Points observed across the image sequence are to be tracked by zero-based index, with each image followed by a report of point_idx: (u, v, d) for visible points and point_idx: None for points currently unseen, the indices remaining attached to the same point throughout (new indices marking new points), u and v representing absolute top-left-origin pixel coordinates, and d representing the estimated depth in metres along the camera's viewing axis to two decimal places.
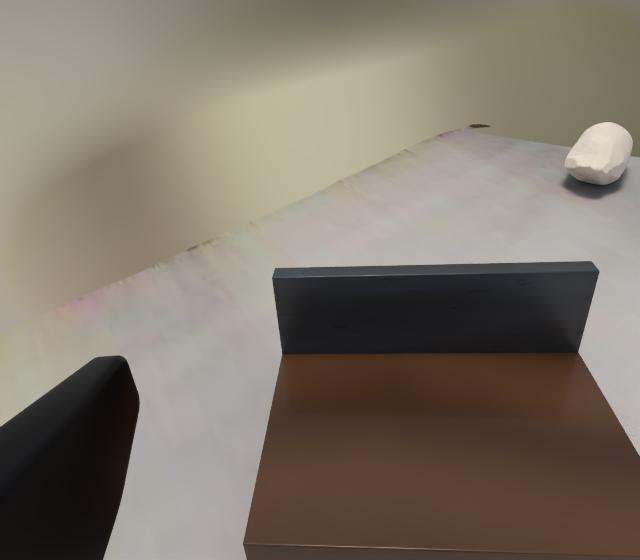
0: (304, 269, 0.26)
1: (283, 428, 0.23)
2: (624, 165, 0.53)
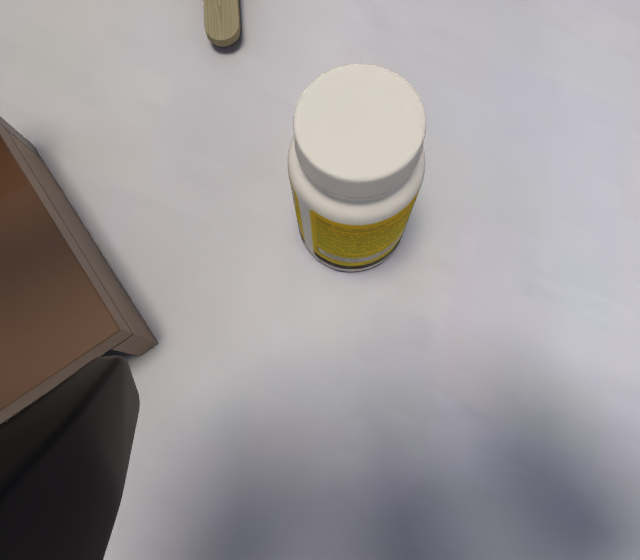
0: None
1: None
2: None
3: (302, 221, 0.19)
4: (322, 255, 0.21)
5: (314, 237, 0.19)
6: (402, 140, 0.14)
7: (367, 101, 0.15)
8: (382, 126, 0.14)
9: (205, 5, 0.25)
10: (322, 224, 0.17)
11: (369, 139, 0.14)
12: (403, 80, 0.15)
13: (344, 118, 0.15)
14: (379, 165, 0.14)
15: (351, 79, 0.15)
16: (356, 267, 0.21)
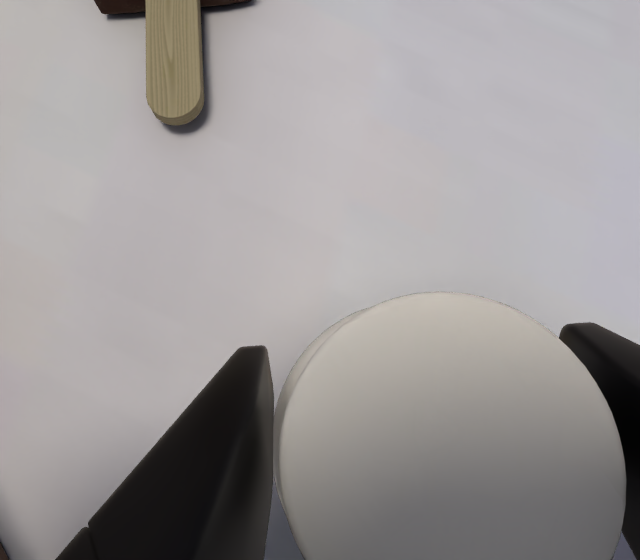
0: None
1: None
2: None
3: None
4: None
5: None
6: (569, 528, 0.05)
7: (468, 405, 0.06)
8: (512, 483, 0.05)
9: (148, 60, 0.16)
10: None
11: (481, 523, 0.05)
12: (556, 343, 0.06)
13: (410, 456, 0.06)
14: None
15: (424, 339, 0.06)
16: None
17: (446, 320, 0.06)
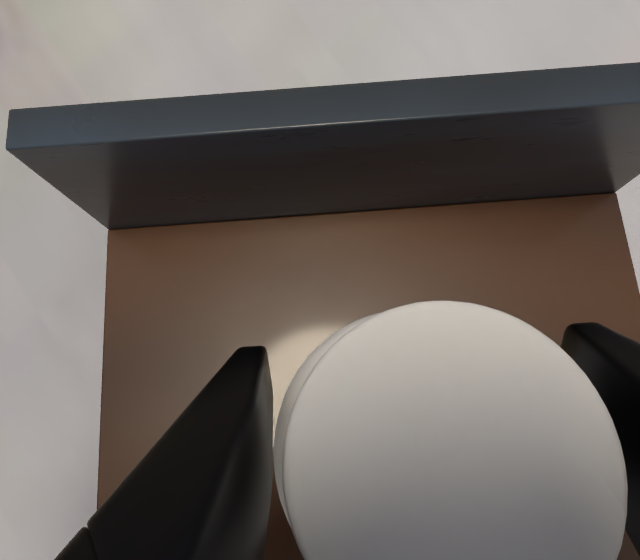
0: (79, 112, 0.11)
1: (127, 404, 0.14)
2: None
3: None
4: None
5: None
6: (571, 536, 0.05)
7: (470, 413, 0.06)
8: (513, 490, 0.06)
9: None
10: None
11: (483, 531, 0.05)
12: (557, 351, 0.06)
13: (414, 463, 0.06)
14: None
15: (426, 349, 0.06)
16: None
17: (448, 329, 0.06)
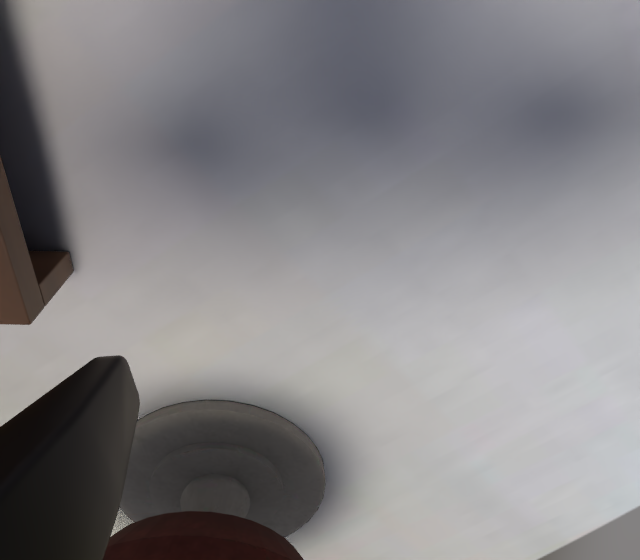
0: None
1: None
2: None
3: None
4: None
5: None
6: None
7: None
8: None
9: None
10: None
11: None
12: None
13: None
14: None
15: None
16: None
17: None
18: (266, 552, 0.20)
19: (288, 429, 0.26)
